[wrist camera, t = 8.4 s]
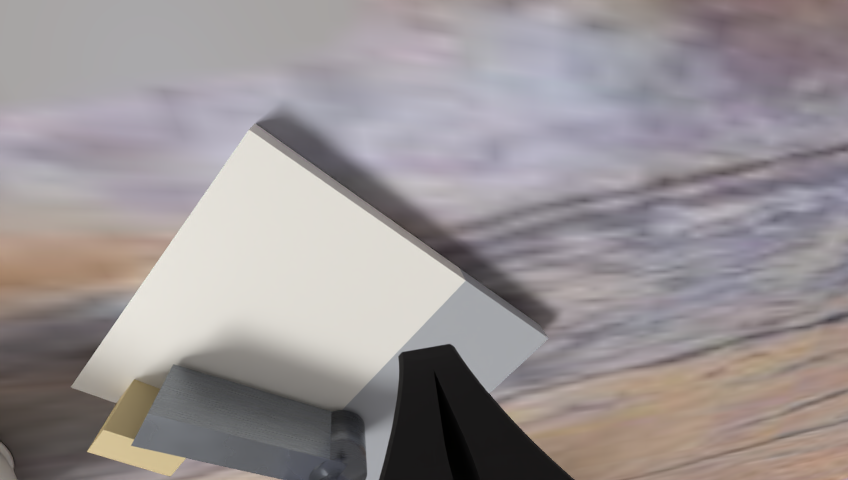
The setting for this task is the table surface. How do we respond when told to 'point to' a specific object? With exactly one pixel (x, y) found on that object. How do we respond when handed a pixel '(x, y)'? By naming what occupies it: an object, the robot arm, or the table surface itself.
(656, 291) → the table surface
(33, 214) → the table surface
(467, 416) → the robot arm
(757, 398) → the table surface
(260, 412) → the swing bar
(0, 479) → the lidded jar
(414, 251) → the door board
